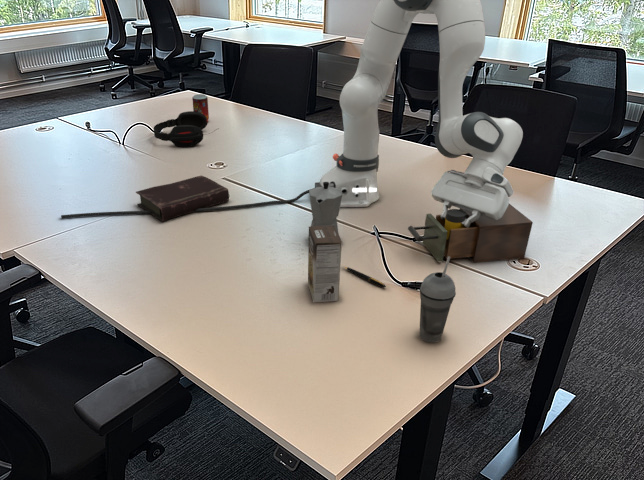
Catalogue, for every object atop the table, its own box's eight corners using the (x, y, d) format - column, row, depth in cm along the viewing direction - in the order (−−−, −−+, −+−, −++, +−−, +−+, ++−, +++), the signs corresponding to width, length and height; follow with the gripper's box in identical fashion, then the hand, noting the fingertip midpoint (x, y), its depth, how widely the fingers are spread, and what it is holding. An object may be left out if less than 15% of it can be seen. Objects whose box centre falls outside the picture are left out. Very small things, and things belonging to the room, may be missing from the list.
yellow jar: (447, 241, 155) (451, 217, 151) (440, 233, 159) (443, 209, 156) (465, 240, 156) (469, 215, 152) (457, 232, 160) (461, 208, 156)
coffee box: (306, 284, 148) (307, 225, 140) (331, 282, 149) (334, 224, 140) (312, 303, 141) (314, 242, 132) (339, 301, 141) (342, 241, 133)
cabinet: (473, 263, 155) (480, 226, 150) (454, 241, 166) (459, 207, 160) (524, 258, 156) (533, 222, 151) (501, 237, 167) (509, 203, 161)
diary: (230, 202, 194) (229, 188, 192) (163, 223, 182) (161, 208, 180) (200, 186, 207) (199, 173, 205) (136, 205, 195) (134, 190, 192)
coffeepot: (333, 254, 161) (336, 192, 152) (301, 249, 165) (301, 188, 155) (347, 231, 174) (350, 172, 164) (316, 227, 177) (318, 169, 167)
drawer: (417, 263, 154) (421, 233, 149) (402, 244, 163) (406, 215, 159) (485, 257, 156) (491, 227, 151) (467, 239, 165) (472, 210, 160)
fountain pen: (341, 269, 154) (341, 264, 154) (344, 267, 155) (344, 262, 154) (384, 289, 145) (384, 284, 144) (387, 288, 146) (387, 283, 145)
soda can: (191, 123, 277) (189, 96, 270) (198, 119, 282) (196, 93, 276) (204, 124, 274) (202, 97, 268) (211, 120, 280) (210, 94, 273)
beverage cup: (420, 323, 132) (432, 243, 122) (452, 333, 129) (467, 252, 118) (407, 339, 127) (418, 258, 117) (440, 350, 124) (455, 267, 113)
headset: (226, 143, 250) (225, 122, 245) (168, 153, 240) (165, 132, 235) (202, 127, 271) (201, 108, 267) (147, 136, 262) (145, 116, 257)
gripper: (443, 162, 159) (417, 205, 159) (513, 181, 146) (484, 229, 146) (450, 174, 164) (425, 216, 164) (519, 193, 150) (491, 239, 150)
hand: (453, 222), depth 155 cm, fingers closed on yellow jar, 5 cm apart
